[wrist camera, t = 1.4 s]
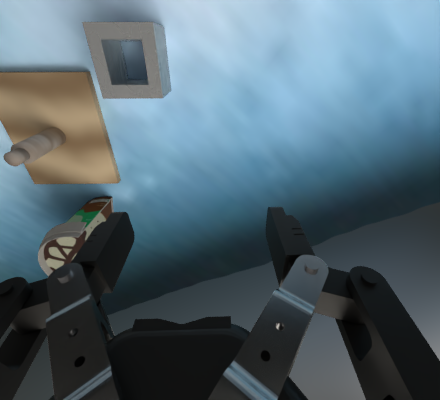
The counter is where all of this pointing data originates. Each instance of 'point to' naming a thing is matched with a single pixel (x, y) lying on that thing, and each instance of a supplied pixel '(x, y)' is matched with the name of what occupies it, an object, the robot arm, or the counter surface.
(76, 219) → the food container
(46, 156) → the block
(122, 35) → the grey square sleeve
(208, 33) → the counter surface
